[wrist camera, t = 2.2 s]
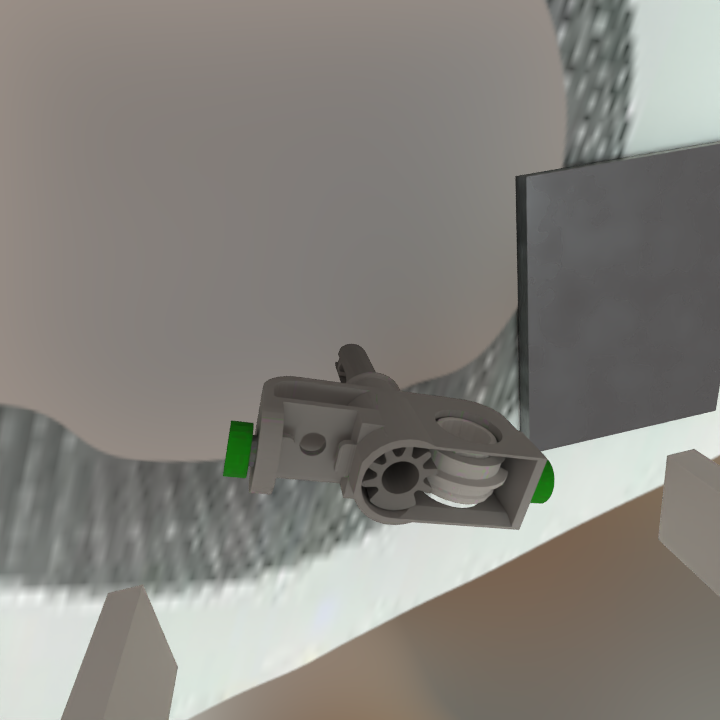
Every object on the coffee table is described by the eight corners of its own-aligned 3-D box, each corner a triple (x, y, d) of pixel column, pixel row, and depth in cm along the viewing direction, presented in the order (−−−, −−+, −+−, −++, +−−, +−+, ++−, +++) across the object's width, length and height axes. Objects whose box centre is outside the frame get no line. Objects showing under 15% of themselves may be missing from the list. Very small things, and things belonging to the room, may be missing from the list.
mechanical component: (246, 311, 22) (231, 419, 13) (457, 346, 24) (572, 458, 15) (237, 372, 23) (217, 513, 14) (441, 400, 25) (539, 535, 16)
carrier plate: (515, 176, 22) (526, 177, 21) (739, 137, 23) (759, 136, 22) (521, 444, 27) (529, 454, 26) (701, 402, 28) (715, 410, 27)
